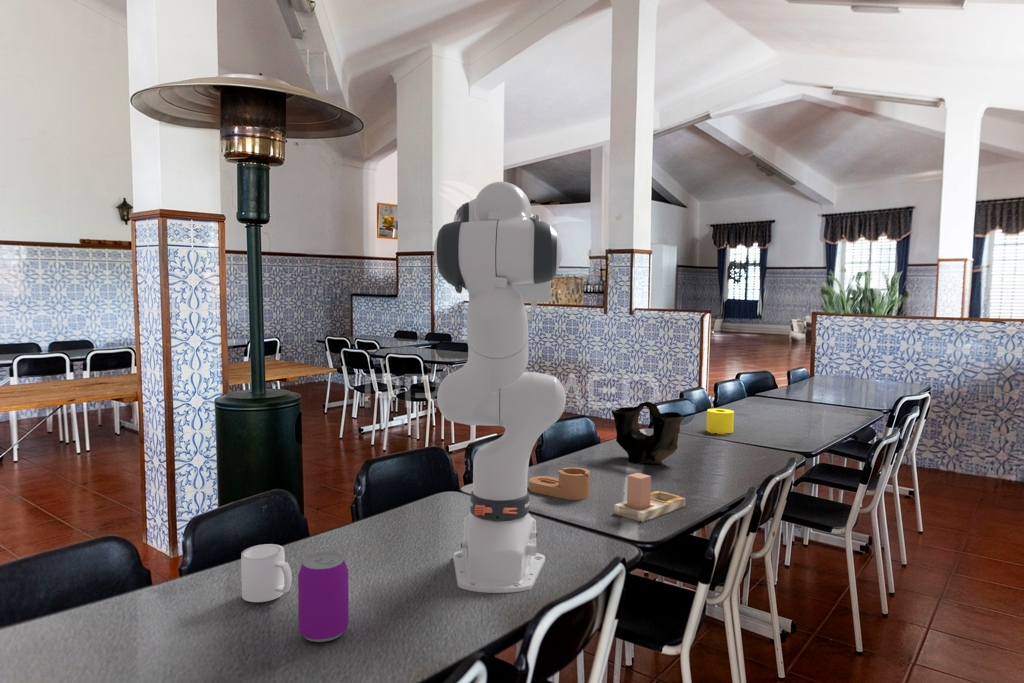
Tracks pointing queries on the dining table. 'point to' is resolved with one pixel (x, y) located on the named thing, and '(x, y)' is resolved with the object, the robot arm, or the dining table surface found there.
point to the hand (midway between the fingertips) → (509, 320)
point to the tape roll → (720, 421)
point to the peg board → (652, 506)
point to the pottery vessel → (643, 445)
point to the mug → (264, 573)
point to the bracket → (563, 484)
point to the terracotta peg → (639, 491)
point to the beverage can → (323, 596)
